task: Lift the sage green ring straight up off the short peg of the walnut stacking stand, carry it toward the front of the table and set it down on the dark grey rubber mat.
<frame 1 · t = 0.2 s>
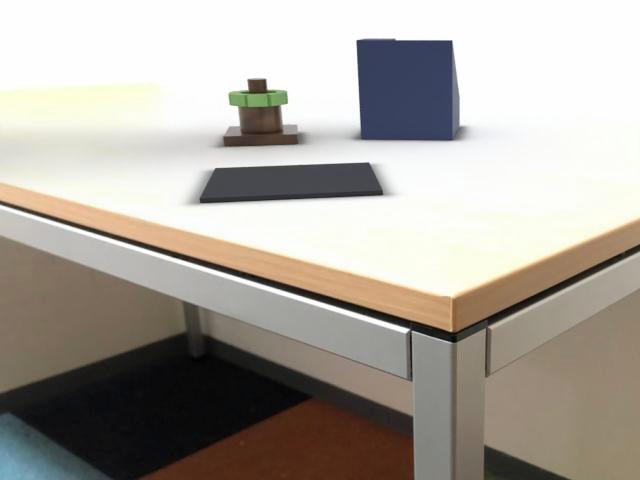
stand: (263, 139, 97), on the table
mat: (293, 182, 73), on the table
ring: (259, 103, 95), point 4 cm above the table, touching stand
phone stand: (412, 134, 102), on the table
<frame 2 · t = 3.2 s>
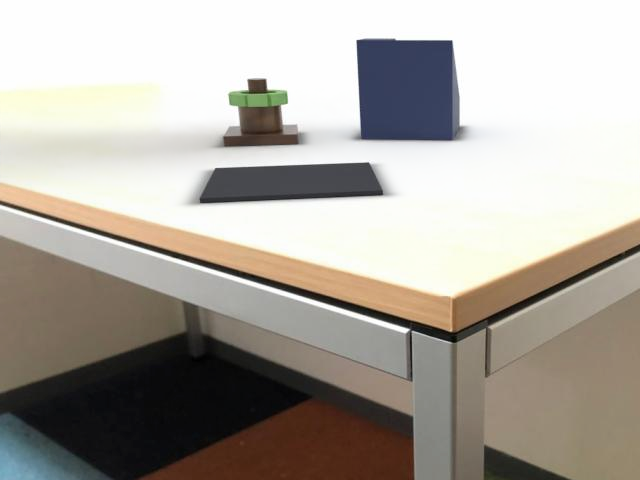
nothing on the table moved.
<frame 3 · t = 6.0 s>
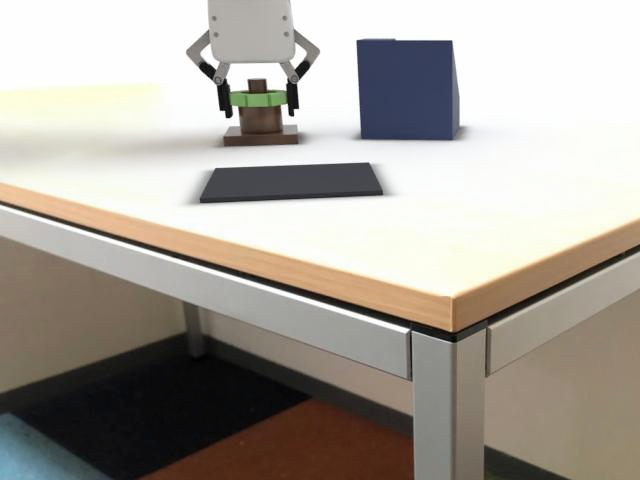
hand: (260, 115, 96), 3 cm above the table, tool pointing down, fingers closed on ring, 7 cm apart
ring: (259, 103, 95), point 4 cm above the table, touching gripper, stand
everything else where it was.
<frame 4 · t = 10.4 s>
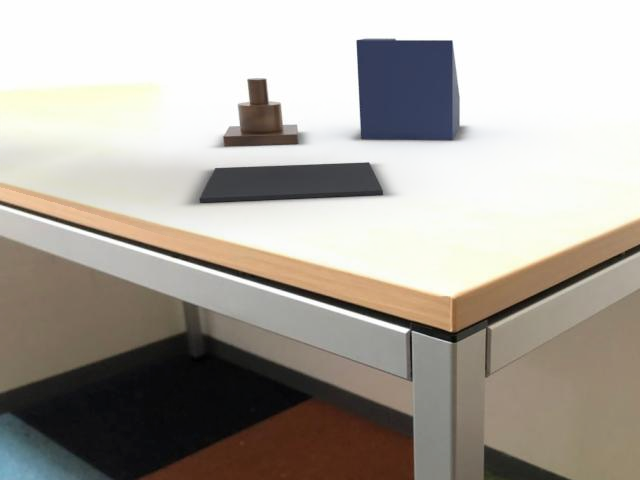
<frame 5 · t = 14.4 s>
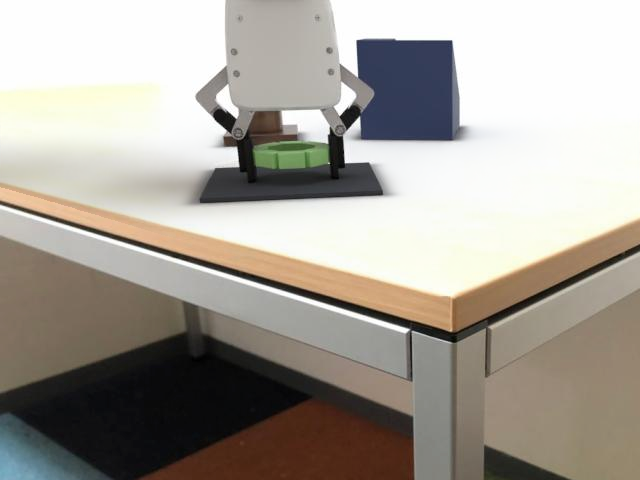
hand: (293, 176, 72), 1 cm above the table, tool pointing down, fingers closed on ring, 7 cm apart
ring: (292, 161, 72), point 2 cm above the table, touching gripper
everything else where it was.
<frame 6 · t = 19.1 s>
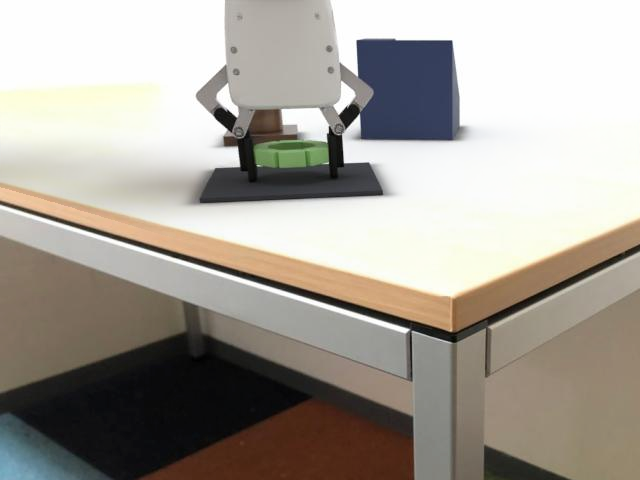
hand: (293, 175, 72), 1 cm above the table, tool pointing down, fingers closed on ring, 7 cm apart
ring: (292, 160, 72), point 2 cm above the table, touching gripper
everything else where it was.
when the fingers open (1 cm above the table, at t = 23.5 s): ring drops 1 cm, resting on mat.
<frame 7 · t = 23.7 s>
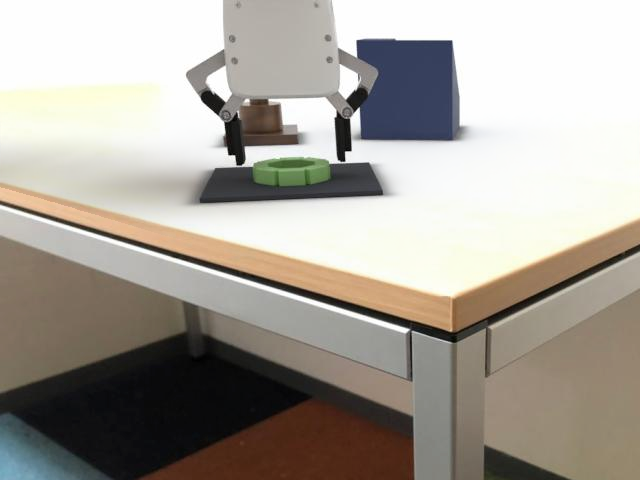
hand: (291, 161, 72), 2 cm above the table, tool pointing down, fingers open, 9 cm apart
ring: (292, 178, 72), resting on mat
everything else where it was.
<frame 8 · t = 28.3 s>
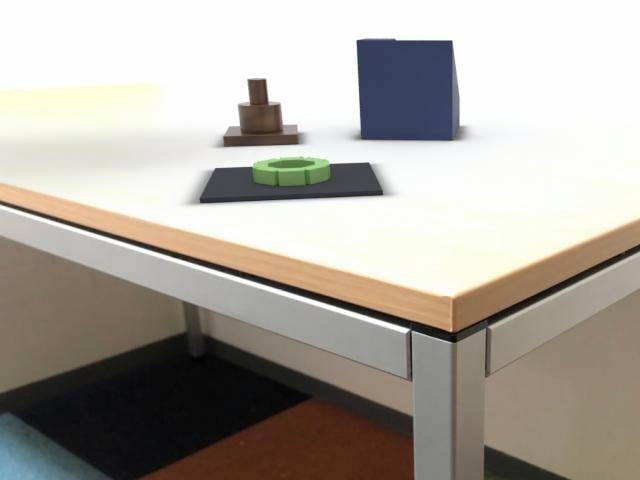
nothing on the table moved.
at the end: ring inside the target area on the mat (0.1 cm from its centre), point 0.4 cm above the mat's base; the gripper is holding nothing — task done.
